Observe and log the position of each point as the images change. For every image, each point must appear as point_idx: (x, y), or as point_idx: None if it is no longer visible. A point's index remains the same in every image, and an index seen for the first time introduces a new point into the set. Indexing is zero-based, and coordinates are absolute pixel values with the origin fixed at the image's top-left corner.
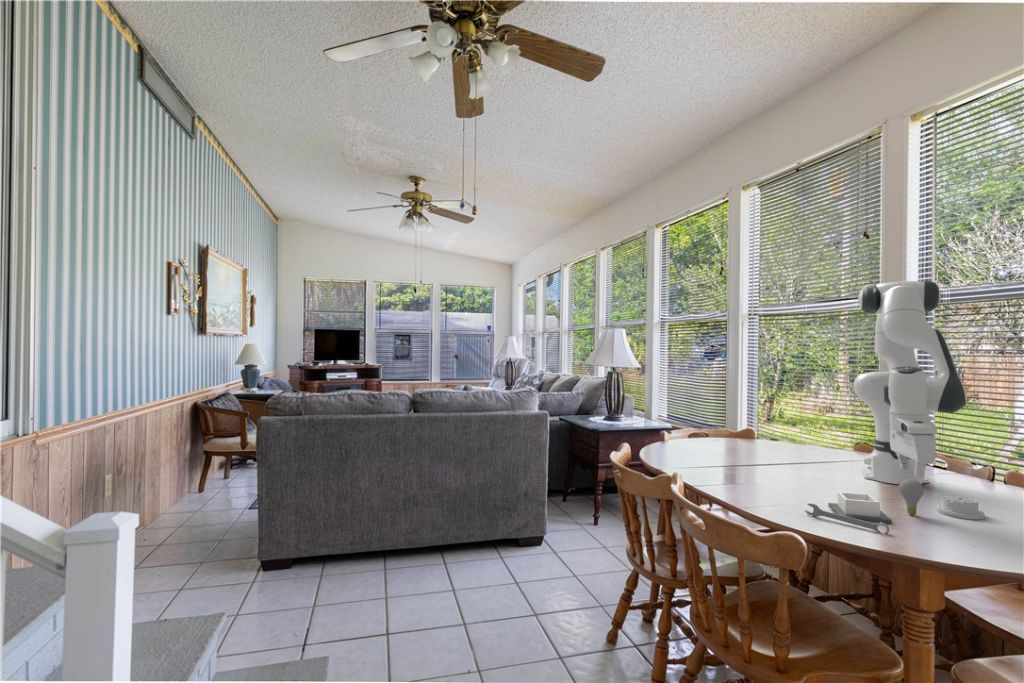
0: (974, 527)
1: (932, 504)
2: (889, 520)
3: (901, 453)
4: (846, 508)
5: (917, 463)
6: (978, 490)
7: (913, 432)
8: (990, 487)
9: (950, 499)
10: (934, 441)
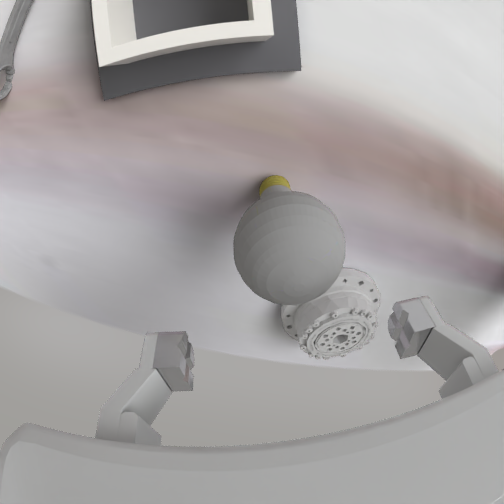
0: (205, 303)
1: (408, 270)
2: (104, 93)
3: (382, 434)
4: None
5: (101, 420)
6: None
7: None
8: None
9: (333, 322)
10: None
